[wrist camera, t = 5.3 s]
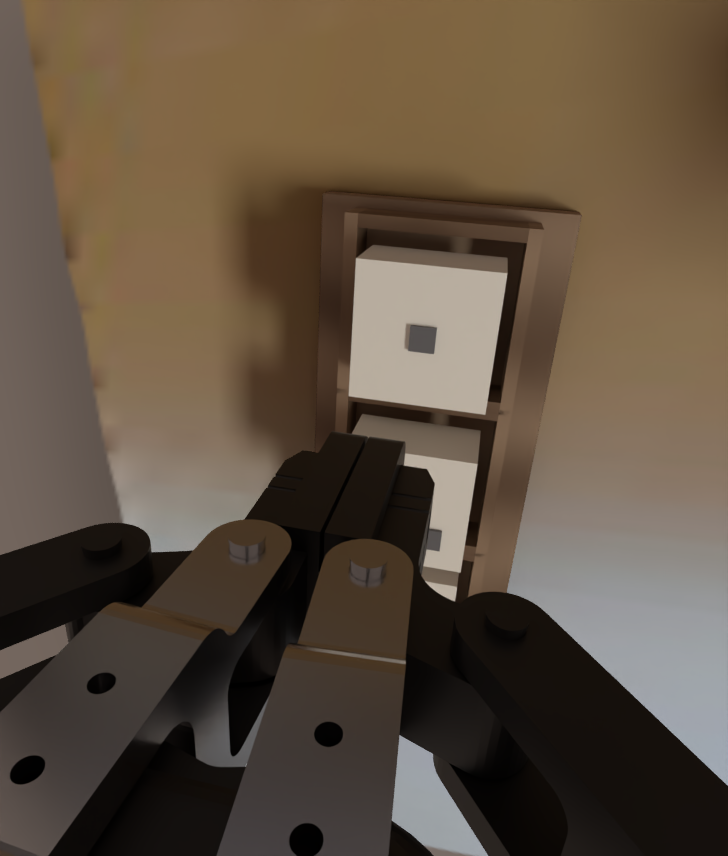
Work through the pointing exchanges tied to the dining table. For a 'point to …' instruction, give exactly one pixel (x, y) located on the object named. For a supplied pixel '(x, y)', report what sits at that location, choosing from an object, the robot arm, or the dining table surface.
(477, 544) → the brown tile tray
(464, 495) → the tile two
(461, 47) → the dining table surface
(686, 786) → the robot arm
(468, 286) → the tile one
